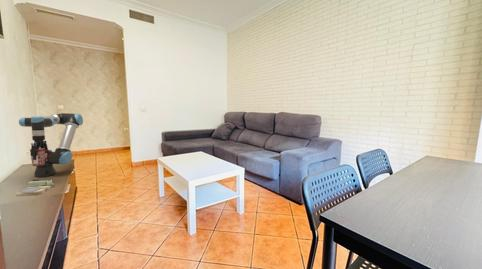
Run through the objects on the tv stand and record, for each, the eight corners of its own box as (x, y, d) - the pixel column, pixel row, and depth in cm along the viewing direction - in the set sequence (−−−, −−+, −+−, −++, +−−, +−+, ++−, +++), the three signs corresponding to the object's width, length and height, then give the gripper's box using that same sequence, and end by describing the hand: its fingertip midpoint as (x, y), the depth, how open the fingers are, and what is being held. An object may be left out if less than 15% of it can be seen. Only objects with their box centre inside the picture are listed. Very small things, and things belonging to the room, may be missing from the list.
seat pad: (27, 187, 166) (27, 187, 166) (44, 187, 168) (43, 186, 168) (16, 193, 155) (16, 193, 155) (34, 192, 158) (34, 192, 158)
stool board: (34, 186, 173) (33, 179, 172) (54, 185, 176) (53, 178, 175) (16, 196, 155) (15, 188, 155) (39, 194, 159) (38, 187, 158)
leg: (53, 183, 175) (52, 178, 174) (51, 185, 171) (50, 180, 171) (30, 185, 170) (29, 180, 169) (27, 186, 166) (27, 181, 166)
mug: (33, 166, 169) (32, 150, 167) (28, 165, 173) (27, 148, 172) (53, 163, 180) (52, 148, 179) (48, 162, 184) (47, 146, 183)
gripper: (34, 137, 163) (36, 165, 166) (52, 133, 185) (54, 158, 188) (22, 137, 162) (24, 165, 164) (42, 133, 183) (44, 159, 186)
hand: (40, 162), depth 176 cm, fingers closed on mug, 10 cm apart
